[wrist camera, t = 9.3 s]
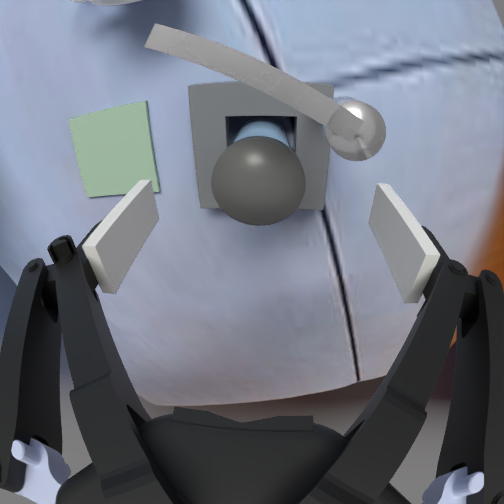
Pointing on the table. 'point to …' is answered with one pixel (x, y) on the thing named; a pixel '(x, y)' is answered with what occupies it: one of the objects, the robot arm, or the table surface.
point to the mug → (108, 2)
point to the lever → (283, 91)
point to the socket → (253, 104)
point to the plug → (259, 175)
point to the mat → (114, 149)
